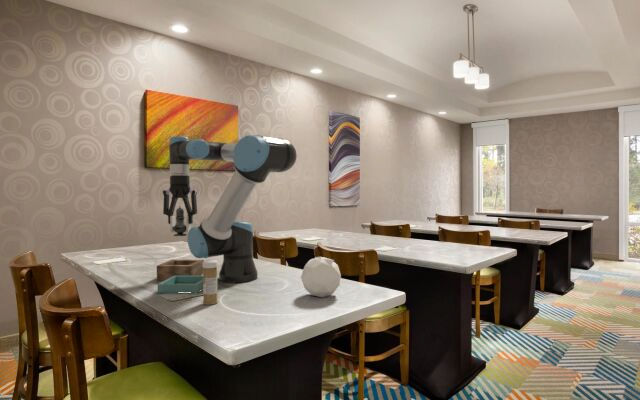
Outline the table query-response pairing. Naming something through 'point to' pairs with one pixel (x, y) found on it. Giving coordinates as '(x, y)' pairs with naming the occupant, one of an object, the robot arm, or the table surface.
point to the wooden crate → (179, 269)
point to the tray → (181, 284)
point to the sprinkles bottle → (210, 282)
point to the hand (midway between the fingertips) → (180, 231)
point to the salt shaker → (180, 223)
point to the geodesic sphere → (321, 276)
